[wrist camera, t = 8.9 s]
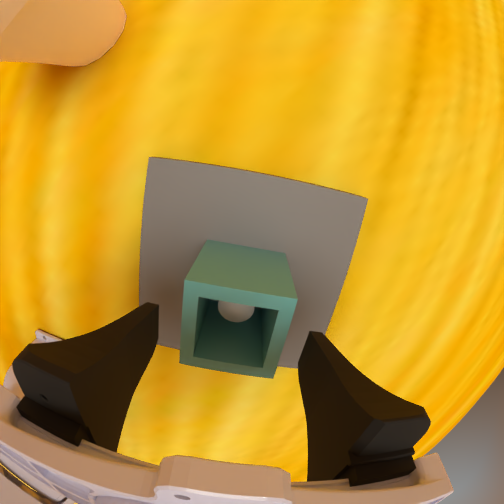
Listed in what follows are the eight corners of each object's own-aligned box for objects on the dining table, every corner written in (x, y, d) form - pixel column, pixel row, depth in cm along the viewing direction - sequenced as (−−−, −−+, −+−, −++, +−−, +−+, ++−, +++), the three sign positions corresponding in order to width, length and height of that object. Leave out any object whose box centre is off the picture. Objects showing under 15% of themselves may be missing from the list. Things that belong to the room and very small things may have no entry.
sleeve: (199, 306, 19) (179, 363, 13) (207, 239, 17) (184, 279, 12) (269, 318, 19) (272, 378, 14) (285, 253, 18) (297, 299, 12)
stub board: (144, 333, 21) (125, 367, 17) (154, 156, 17) (124, 158, 12) (308, 361, 22) (317, 400, 18) (362, 196, 17) (392, 209, 13)
